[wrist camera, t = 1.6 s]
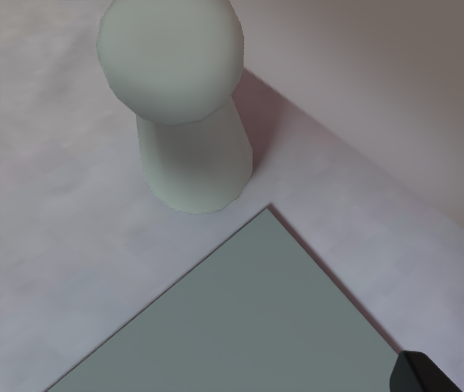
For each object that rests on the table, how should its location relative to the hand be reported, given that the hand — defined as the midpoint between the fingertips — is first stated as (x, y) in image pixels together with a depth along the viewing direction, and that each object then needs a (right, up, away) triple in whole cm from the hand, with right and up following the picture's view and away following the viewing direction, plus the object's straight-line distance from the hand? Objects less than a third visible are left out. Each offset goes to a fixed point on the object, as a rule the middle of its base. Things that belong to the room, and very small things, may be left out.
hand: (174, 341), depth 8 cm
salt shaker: (-1, +4, +15) cm, 16 cm away
